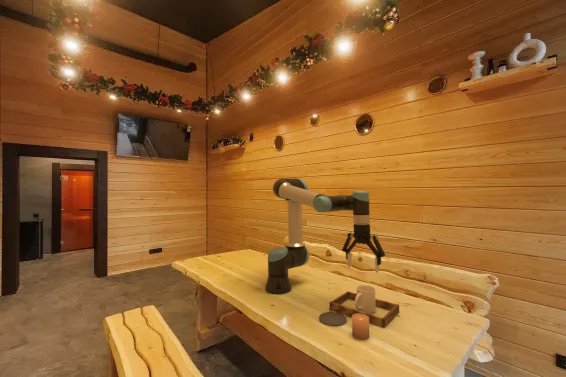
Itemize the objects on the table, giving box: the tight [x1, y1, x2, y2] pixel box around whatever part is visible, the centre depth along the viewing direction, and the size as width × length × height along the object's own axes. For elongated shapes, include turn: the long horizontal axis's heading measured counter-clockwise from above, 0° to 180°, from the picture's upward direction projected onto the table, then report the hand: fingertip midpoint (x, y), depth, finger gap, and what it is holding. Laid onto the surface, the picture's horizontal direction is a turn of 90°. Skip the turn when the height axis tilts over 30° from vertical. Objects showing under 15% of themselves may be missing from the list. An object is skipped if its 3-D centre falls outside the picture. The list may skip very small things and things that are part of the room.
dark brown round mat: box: [318, 311, 348, 327], centre depth 115 cm, size 12×12×1 cm
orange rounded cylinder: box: [351, 313, 370, 341], centre depth 102 cm, size 6×6×7 cm
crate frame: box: [329, 291, 400, 329], centre depth 122 cm, size 26×18×4 cm
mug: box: [354, 284, 377, 314], centre depth 122 cm, size 12×8×10 cm
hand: (363, 269), depth 122 cm, fingers open, 13 cm apart
